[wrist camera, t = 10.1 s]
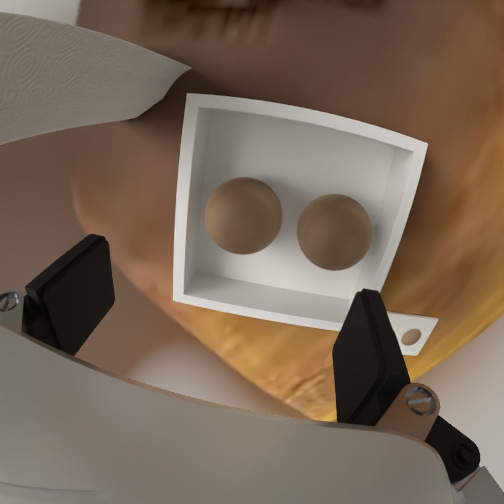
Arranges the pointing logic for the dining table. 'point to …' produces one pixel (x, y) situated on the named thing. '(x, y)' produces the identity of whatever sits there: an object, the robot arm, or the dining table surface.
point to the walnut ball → (243, 215)
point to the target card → (411, 331)
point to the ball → (334, 232)
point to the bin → (287, 205)
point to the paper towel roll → (73, 77)
